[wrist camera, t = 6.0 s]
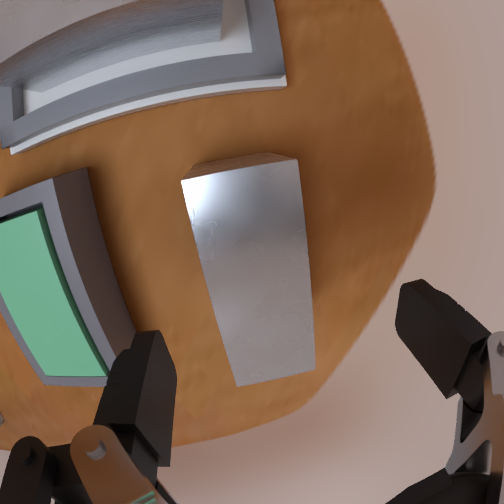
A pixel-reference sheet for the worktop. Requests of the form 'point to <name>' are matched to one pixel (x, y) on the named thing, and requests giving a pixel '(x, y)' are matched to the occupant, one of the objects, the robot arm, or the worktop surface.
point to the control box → (77, 268)
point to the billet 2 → (255, 262)
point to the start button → (44, 299)
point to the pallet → (153, 80)
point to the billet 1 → (94, 35)
